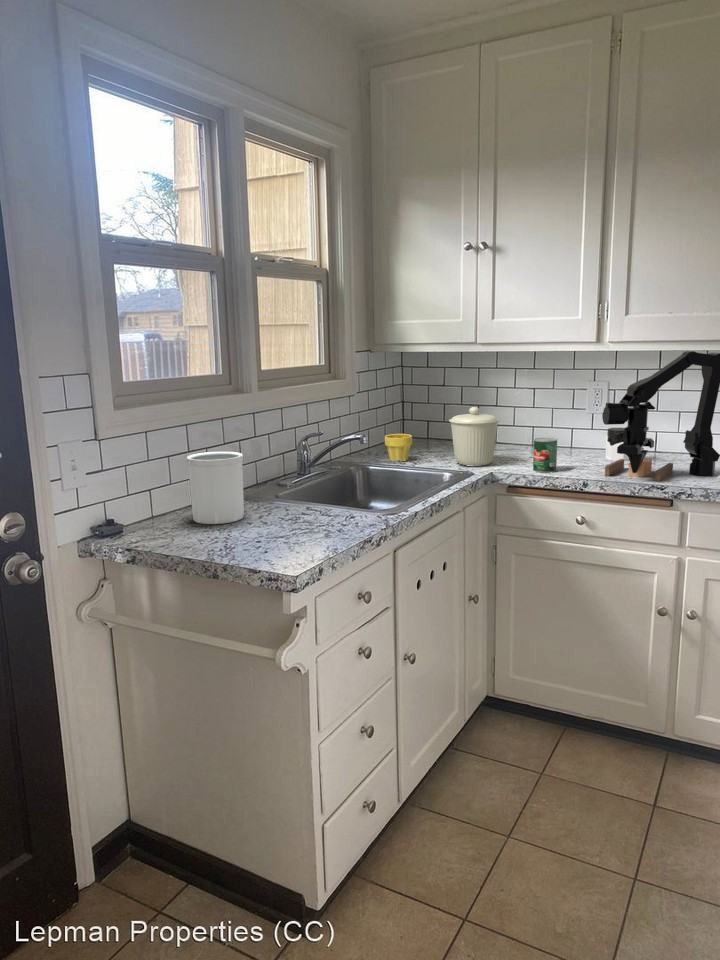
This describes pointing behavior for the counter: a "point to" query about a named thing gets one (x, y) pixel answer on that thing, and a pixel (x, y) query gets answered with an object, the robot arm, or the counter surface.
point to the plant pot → (398, 446)
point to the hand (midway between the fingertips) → (634, 472)
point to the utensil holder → (216, 487)
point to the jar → (614, 447)
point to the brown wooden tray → (619, 466)
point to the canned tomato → (545, 455)
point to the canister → (474, 437)
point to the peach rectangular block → (641, 469)
